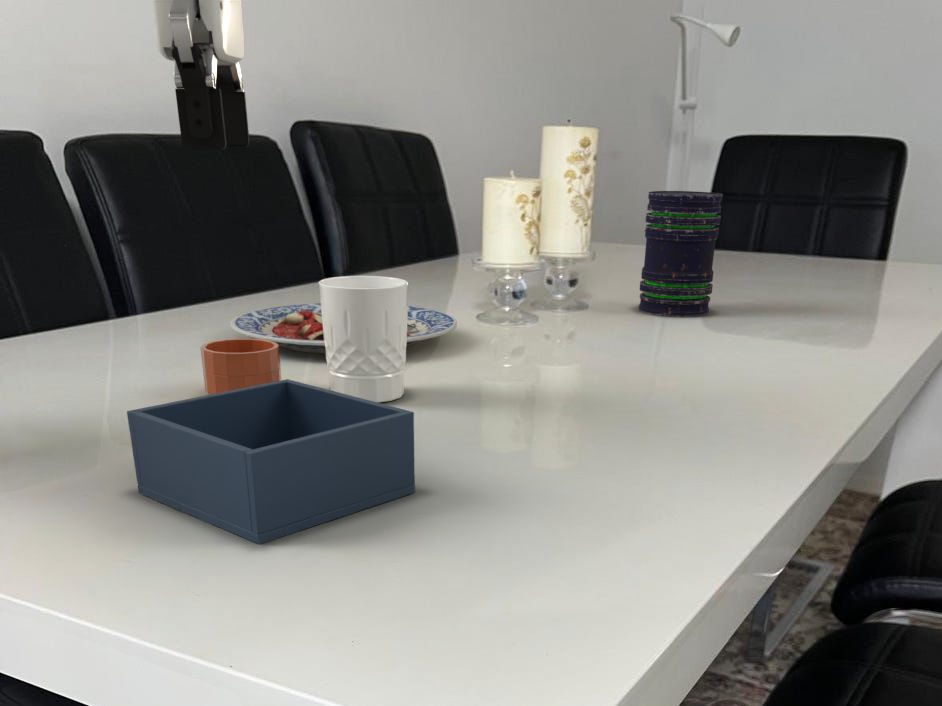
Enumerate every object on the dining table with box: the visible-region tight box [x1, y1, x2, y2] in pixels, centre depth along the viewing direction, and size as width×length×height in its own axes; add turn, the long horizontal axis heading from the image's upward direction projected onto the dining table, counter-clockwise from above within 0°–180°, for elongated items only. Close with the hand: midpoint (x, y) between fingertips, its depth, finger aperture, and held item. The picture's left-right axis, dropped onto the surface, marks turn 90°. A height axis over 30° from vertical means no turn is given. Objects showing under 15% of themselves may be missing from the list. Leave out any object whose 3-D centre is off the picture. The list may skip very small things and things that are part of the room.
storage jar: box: [638, 190, 724, 318], centre depth 135 cm, size 10×10×15 cm
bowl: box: [200, 338, 282, 395], centre depth 91 cm, size 7×7×4 cm
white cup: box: [318, 275, 409, 403], centre depth 90 cm, size 8×8×10 cm
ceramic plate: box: [230, 302, 458, 355], centre depth 115 cm, size 26×26×3 cm
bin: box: [126, 378, 416, 545], centre depth 66 cm, size 13×13×6 cm
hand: (218, 147), depth 79 cm, fingers open, 9 cm apart
